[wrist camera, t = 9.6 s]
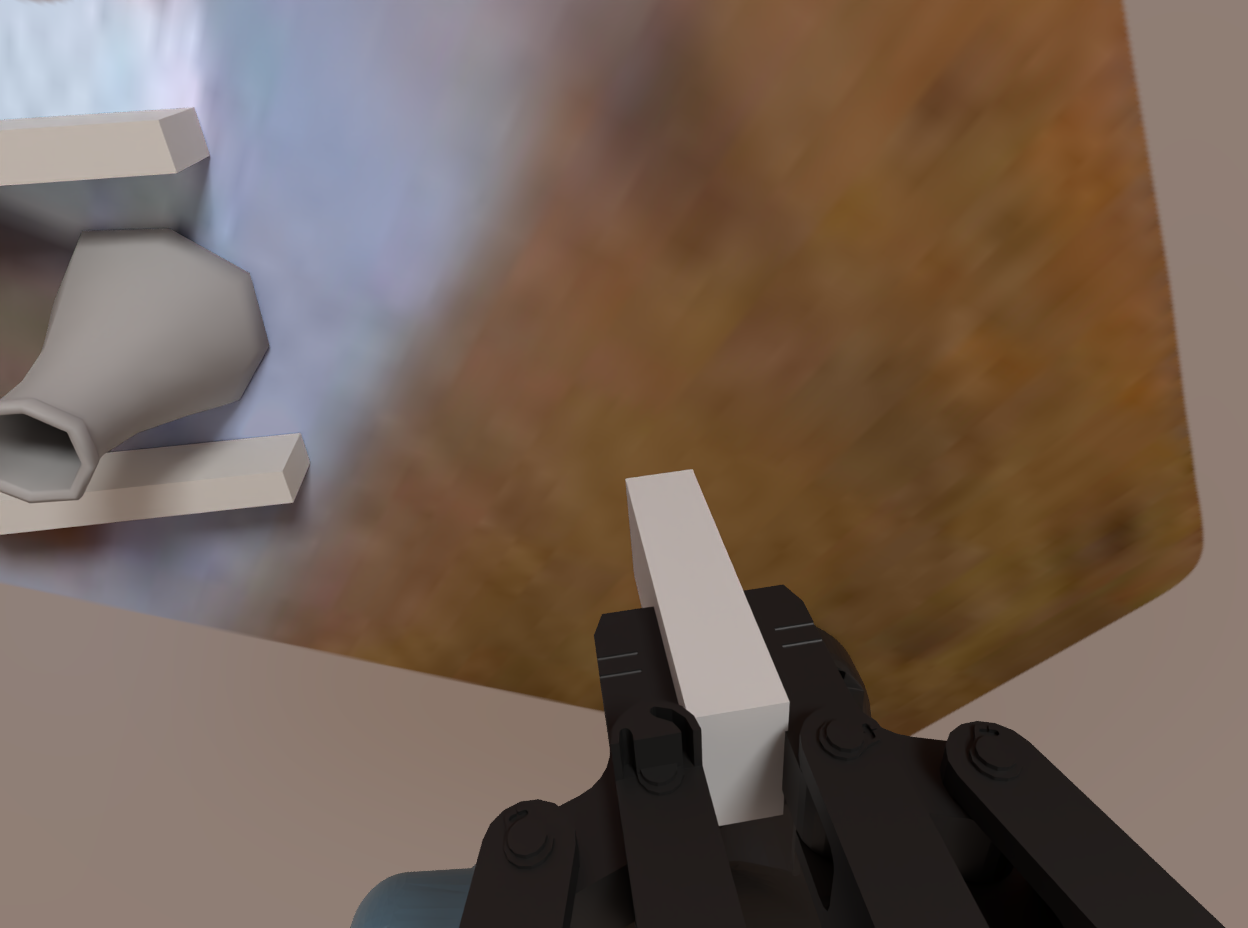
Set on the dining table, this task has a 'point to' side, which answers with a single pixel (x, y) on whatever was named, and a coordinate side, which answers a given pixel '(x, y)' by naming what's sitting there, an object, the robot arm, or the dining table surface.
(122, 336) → the flask
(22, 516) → the white u-shaped stand
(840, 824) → the robot arm
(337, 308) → the dining table surface
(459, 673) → the dining table surface
